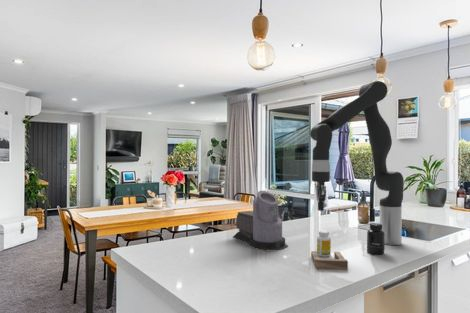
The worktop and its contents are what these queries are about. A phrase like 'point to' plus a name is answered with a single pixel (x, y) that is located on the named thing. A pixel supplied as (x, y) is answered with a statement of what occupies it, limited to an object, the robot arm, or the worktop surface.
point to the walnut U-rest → (329, 261)
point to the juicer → (261, 224)
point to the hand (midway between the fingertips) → (320, 210)
